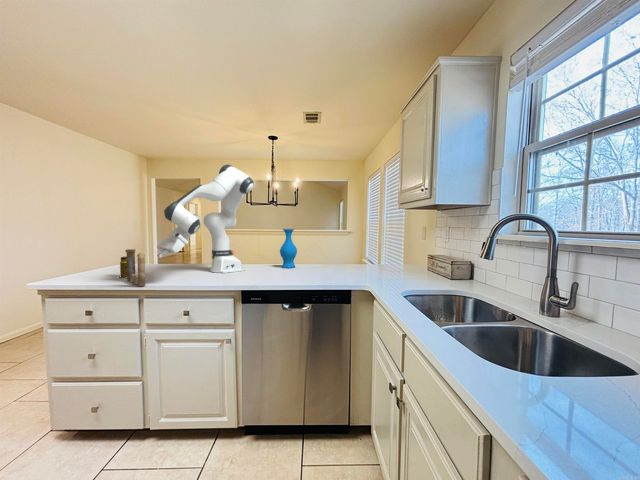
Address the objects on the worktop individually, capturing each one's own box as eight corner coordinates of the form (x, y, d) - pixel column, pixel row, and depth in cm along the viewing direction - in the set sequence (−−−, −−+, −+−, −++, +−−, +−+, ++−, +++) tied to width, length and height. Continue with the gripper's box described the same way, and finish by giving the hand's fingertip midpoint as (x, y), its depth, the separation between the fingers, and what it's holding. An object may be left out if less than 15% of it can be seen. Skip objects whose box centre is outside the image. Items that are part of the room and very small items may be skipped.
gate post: (136, 279, 161) (135, 249, 160) (136, 280, 157) (135, 249, 156) (127, 279, 159) (126, 249, 158) (126, 281, 155) (125, 250, 154)
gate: (127, 280, 155) (126, 250, 154) (133, 279, 157) (132, 249, 156) (139, 286, 141) (138, 253, 140) (146, 285, 143) (145, 252, 142)
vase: (276, 267, 208) (276, 229, 206) (290, 265, 216) (290, 228, 214) (286, 269, 199) (286, 229, 197) (300, 267, 207) (300, 229, 205)
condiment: (133, 277, 167) (132, 257, 166) (115, 278, 162) (115, 258, 162) (133, 275, 173) (132, 255, 172) (116, 276, 168) (115, 256, 168)
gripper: (165, 233, 162) (147, 251, 155) (181, 234, 148) (161, 254, 142) (174, 240, 165) (156, 258, 159) (190, 242, 152) (171, 262, 145)
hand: (159, 256), depth 150 cm, fingers closed
